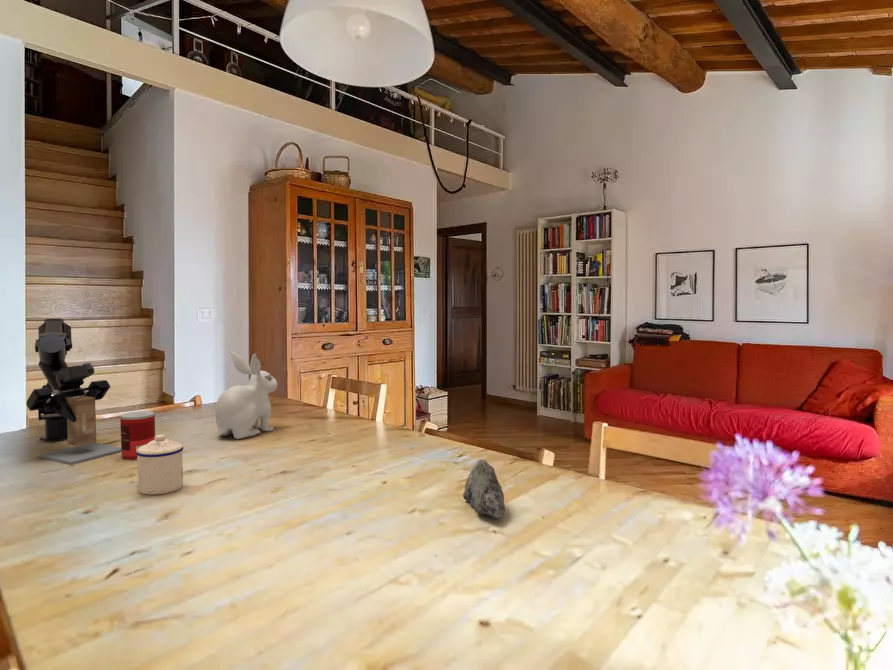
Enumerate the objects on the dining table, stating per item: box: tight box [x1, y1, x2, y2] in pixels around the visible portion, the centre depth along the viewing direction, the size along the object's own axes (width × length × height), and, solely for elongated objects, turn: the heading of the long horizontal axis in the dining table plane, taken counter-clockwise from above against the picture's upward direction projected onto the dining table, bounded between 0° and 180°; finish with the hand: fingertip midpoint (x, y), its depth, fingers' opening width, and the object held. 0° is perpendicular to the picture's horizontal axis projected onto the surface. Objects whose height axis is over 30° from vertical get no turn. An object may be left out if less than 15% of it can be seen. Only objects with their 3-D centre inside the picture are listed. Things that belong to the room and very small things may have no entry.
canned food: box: [119, 410, 156, 460], centre depth 147 cm, size 8×8×11 cm
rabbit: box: [215, 350, 278, 440], centre depth 171 cm, size 12×21×25 cm, turn 148°
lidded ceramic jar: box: [136, 434, 184, 496], centre depth 123 cm, size 12×9×12 cm
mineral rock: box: [462, 458, 506, 519], centre depth 111 cm, size 13×11×10 cm
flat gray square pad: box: [37, 442, 121, 466], centre depth 148 cm, size 14×14×1 cm
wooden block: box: [66, 396, 98, 447], centre depth 147 cm, size 5×5×12 cm
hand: (84, 419), depth 147 cm, fingers closed on wooden block, 5 cm apart
